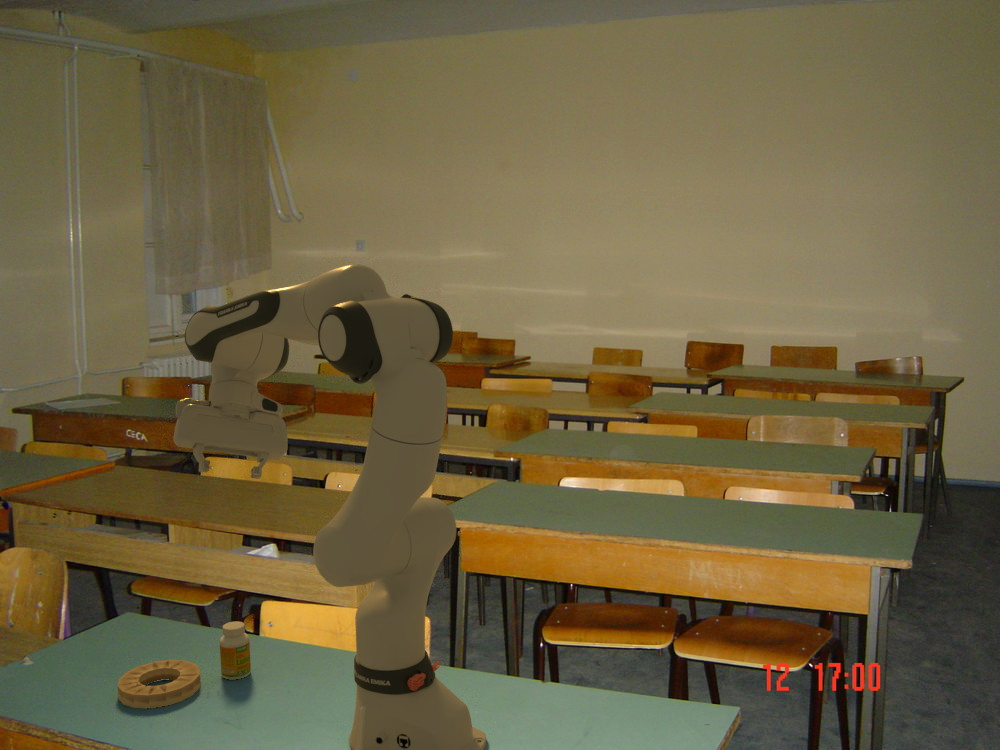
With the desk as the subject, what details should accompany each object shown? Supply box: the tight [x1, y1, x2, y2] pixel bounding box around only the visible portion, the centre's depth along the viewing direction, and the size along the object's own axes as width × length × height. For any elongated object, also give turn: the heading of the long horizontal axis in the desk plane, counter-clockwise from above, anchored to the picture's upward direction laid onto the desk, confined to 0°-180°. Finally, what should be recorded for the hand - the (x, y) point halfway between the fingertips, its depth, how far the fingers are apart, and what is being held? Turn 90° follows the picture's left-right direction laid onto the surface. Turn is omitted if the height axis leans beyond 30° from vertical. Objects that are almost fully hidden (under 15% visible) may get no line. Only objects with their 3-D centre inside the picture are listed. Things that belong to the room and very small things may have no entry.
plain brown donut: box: [117, 659, 201, 710], centre depth 170 cm, size 14×14×2 cm
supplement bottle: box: [219, 621, 252, 681], centre depth 175 cm, size 5×5×10 cm
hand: (230, 474), depth 166 cm, fingers open, 8 cm apart
